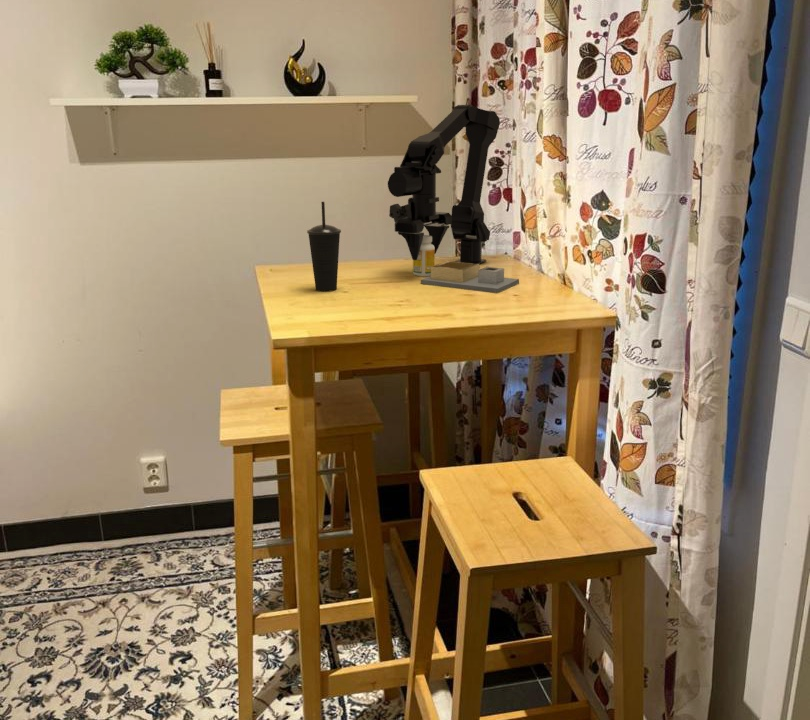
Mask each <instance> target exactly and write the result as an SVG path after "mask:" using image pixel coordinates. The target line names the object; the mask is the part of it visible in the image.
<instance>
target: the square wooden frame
mask: <svg viewBox="0 0 810 720" xmlns="http://www.w3.org/2000/svg"><path fill="white" fill-rule="evenodd" d="M479 269H480V264H473V263H464V262H455V261H452V260H447V261H444V262H440V263H438V264H434V266H431V279H434V280H443V281H451V282H460V283H463V282H466V281H469V280H471V279H474V278H476V277H478V270H479Z"/></svg>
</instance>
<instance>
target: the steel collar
mask: <svg viewBox="0 0 810 720" xmlns="http://www.w3.org/2000/svg"><path fill="white" fill-rule="evenodd" d="M504 278H505V268H503V267H494V266H486V267H482V268H479V270H478V283H486V284H495V285H496V284H498V283H501V282H503V281H504Z"/></svg>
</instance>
